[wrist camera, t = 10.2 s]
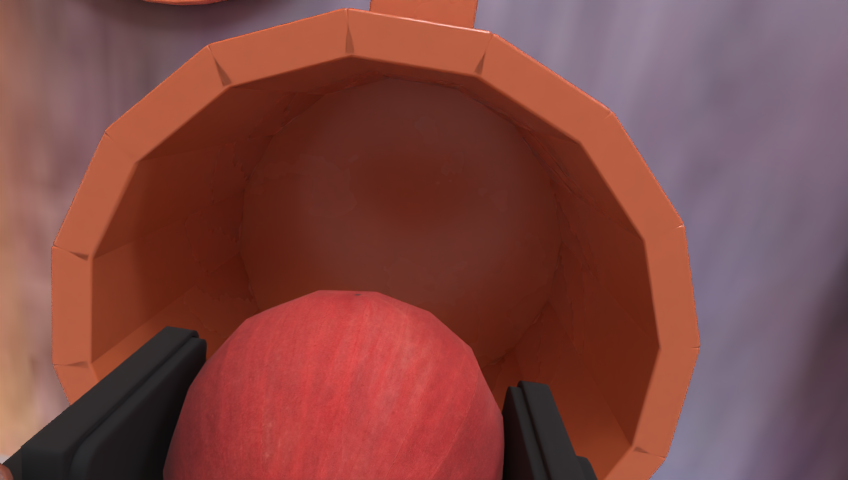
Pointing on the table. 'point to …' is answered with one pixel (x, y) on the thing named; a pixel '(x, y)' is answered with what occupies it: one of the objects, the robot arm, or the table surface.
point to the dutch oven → (391, 215)
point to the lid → (183, 2)
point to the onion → (339, 398)
